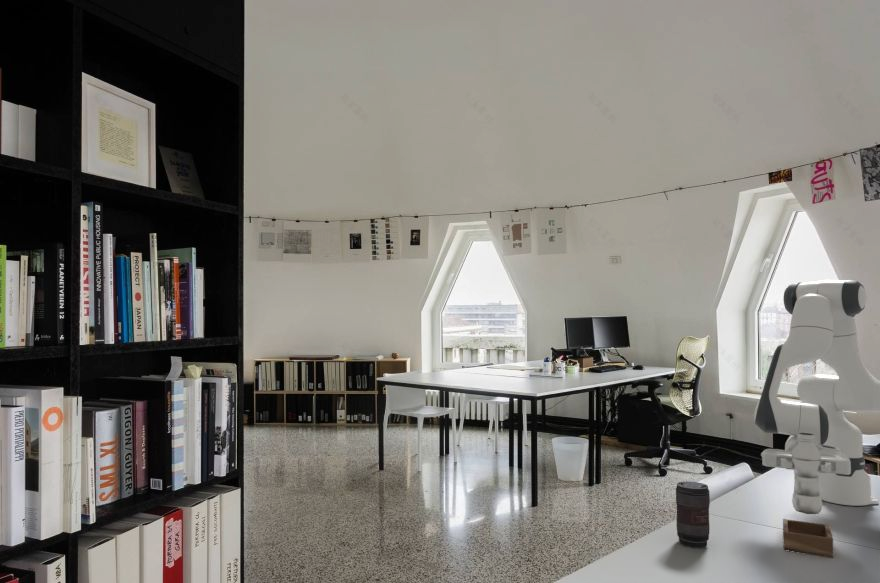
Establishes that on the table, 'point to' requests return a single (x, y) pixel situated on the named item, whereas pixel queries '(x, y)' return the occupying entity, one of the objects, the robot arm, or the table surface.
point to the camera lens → (692, 514)
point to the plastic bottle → (806, 475)
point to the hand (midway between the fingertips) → (806, 467)
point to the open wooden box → (807, 538)
